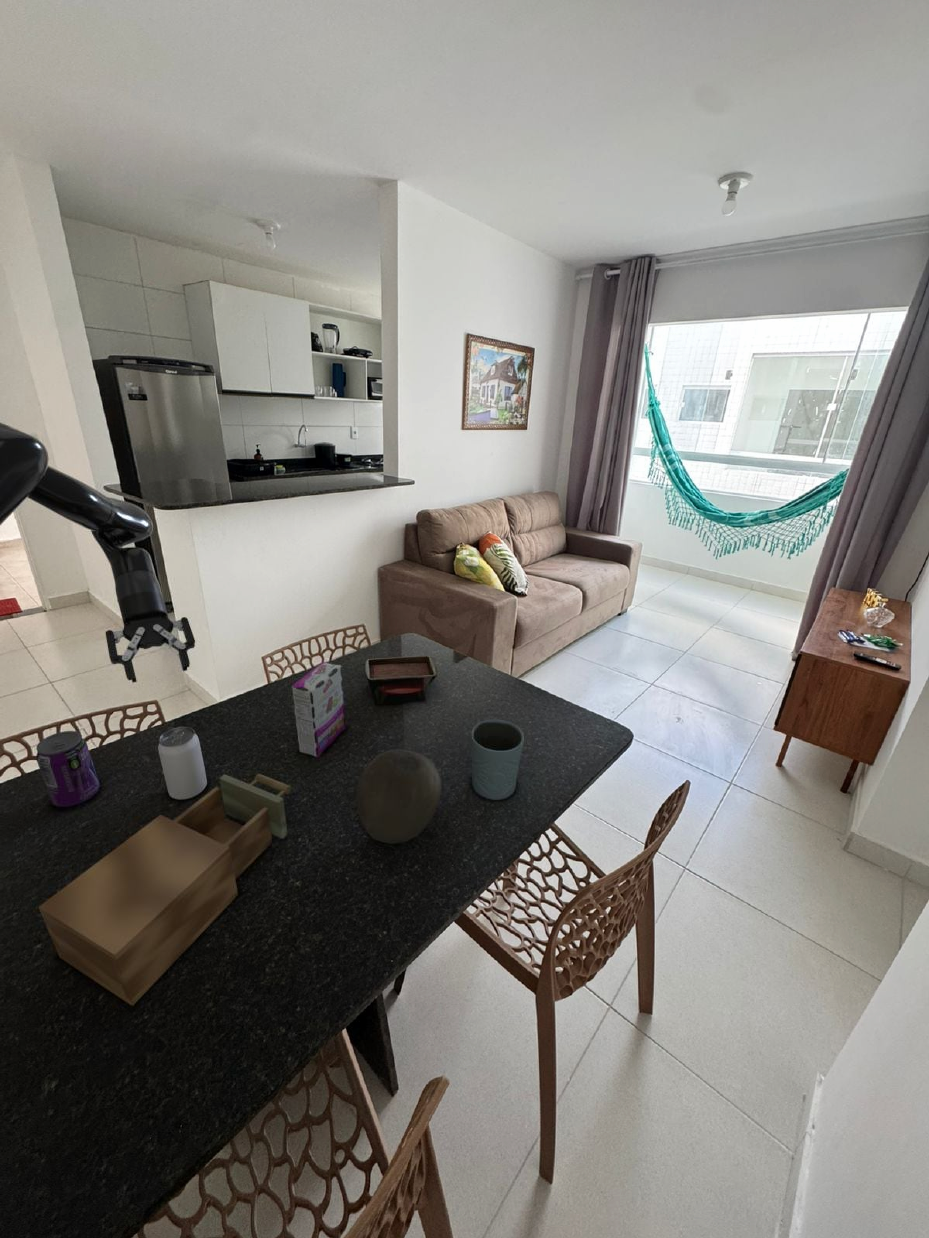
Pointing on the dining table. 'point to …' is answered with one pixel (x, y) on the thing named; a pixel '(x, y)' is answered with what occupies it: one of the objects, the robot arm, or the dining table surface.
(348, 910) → the dining table surface
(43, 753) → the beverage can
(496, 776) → the teal cup
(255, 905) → the dining table surface
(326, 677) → the candy bar box
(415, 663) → the baking dish
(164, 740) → the can
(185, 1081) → the dining table surface
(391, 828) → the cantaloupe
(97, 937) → the cabinet
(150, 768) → the dining table surface
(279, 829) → the drawer
